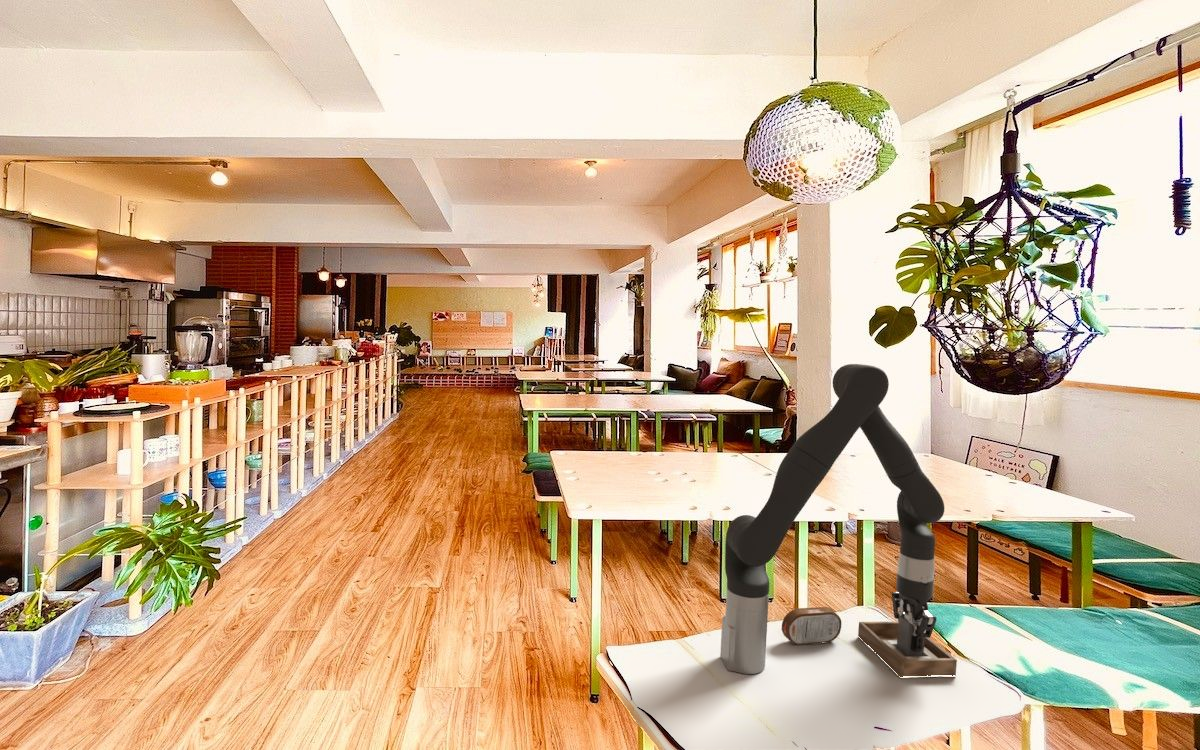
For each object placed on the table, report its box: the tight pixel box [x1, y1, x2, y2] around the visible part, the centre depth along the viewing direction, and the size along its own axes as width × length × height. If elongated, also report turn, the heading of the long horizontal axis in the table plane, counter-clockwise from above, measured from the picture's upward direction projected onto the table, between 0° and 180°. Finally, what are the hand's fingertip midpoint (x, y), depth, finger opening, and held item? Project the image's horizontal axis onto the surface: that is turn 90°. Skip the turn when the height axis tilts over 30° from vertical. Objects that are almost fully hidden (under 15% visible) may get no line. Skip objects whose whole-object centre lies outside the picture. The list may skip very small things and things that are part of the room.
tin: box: [781, 606, 842, 646], centre depth 148 cm, size 15×3×8 cm, turn 102°
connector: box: [897, 613, 925, 657], centre depth 141 cm, size 4×4×9 cm
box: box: [857, 621, 958, 677], centre depth 143 cm, size 13×18×4 cm
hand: (910, 645), depth 141 cm, fingers closed on connector, 4 cm apart
